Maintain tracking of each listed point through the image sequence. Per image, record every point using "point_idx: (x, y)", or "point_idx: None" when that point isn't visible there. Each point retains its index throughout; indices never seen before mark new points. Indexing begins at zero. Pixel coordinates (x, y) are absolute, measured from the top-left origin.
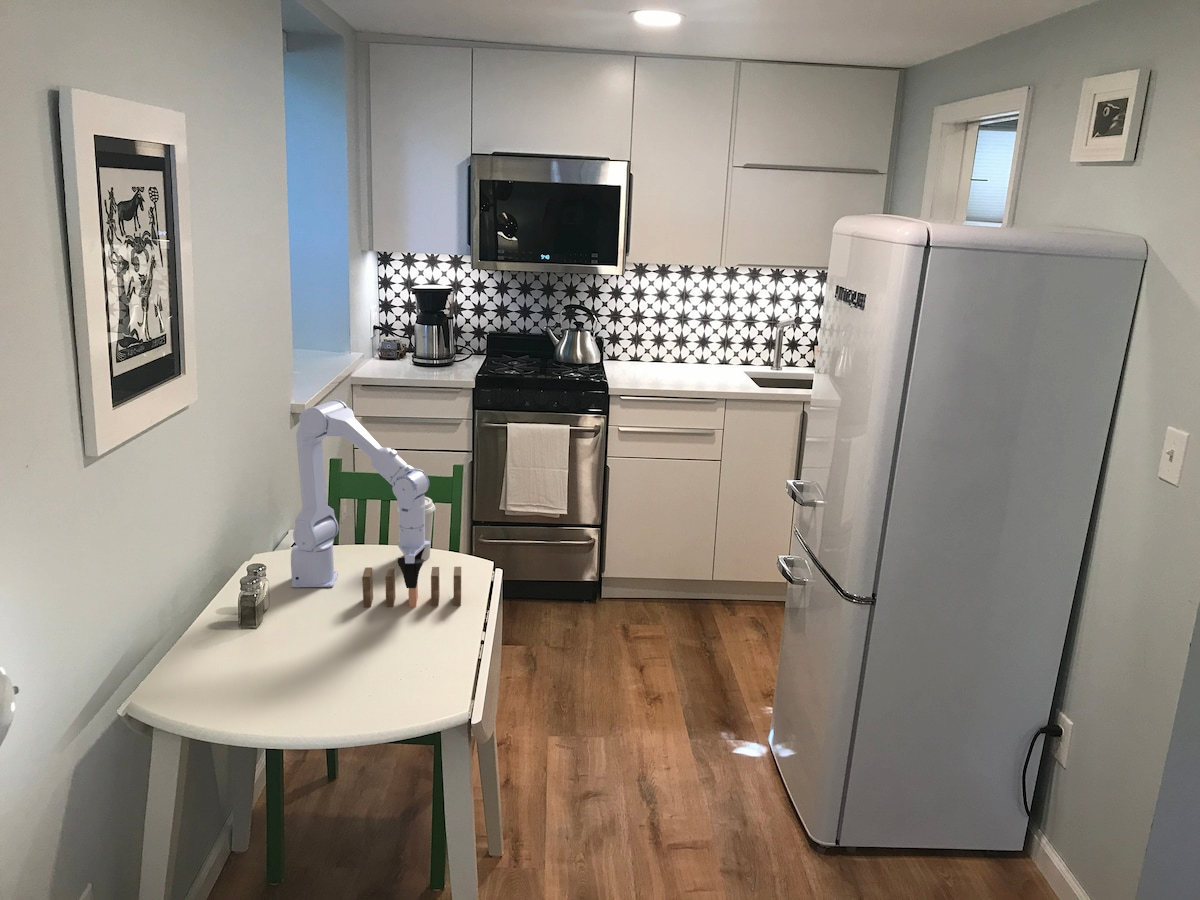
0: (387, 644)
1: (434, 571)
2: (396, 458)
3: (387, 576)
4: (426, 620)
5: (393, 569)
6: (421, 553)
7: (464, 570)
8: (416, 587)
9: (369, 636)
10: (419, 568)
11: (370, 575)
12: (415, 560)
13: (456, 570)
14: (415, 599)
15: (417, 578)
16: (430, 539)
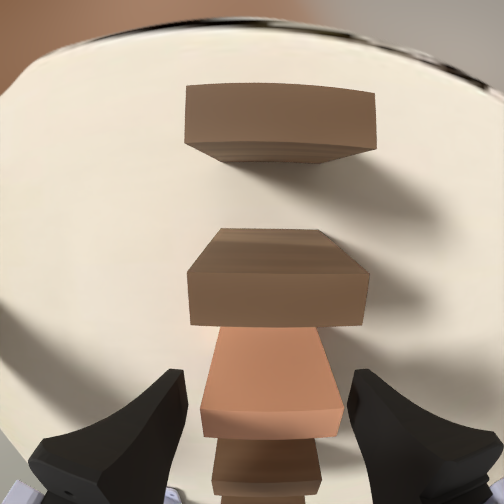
0: (498, 351)
1: (282, 306)
2: None
3: (317, 489)
4: (424, 271)
5: (240, 484)
6: (137, 446)
7: (13, 154)
8: (284, 355)
9: (455, 398)
10: (465, 430)
11: None
12: (455, 491)
13: (269, 119)
14: (317, 334)
15: (401, 395)
16: None
